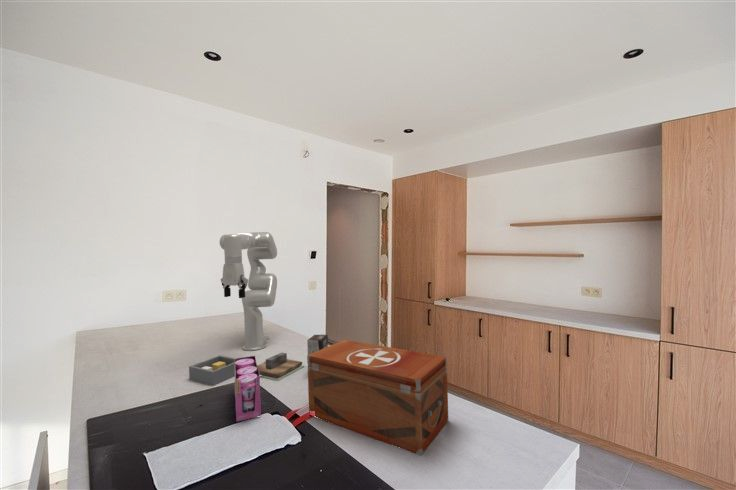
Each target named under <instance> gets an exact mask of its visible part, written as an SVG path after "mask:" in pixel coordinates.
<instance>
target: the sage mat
mask: <svg viewBox="0 0 736 490" xmlns="http://www.w3.org/2000/svg"><path fill="white" fill-rule="evenodd" d="M304 367H305V365H304V364H302V365H300V366H298V367H297V368H295V369H293V370H291V371H289V372H287V373H285V374H283V375H281V376H279V377H273V376H269V375H264V374H261V375H259V376H260V378H263V379H267V380H273V381H277V382H279V381H281V380H283V379H285V378H286V377H288V376H290V375H291V374H294V373H296V372H298V371H299V370H302V369H303V368H304Z"/></svg>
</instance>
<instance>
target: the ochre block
mask: <svg viewBox="0 0 736 490" xmlns="http://www.w3.org/2000/svg"><path fill="white" fill-rule="evenodd" d="M224 366H226V363H225V362H220V361H219V362H217V363H214V364H212V371H214V370H217V369H219V368H222V367H224Z"/></svg>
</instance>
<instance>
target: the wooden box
mask: <svg viewBox="0 0 736 490" xmlns="http://www.w3.org/2000/svg"><path fill="white" fill-rule="evenodd" d="M306 359H307V361H306V362H307V386H308V387H307V389H308V390H307V392H308V393H307V394H308V413H309V412H310V411H315V416H316V417H318V418H320V419H322V420H321V421H323V420H324V421H323V422H326V423H328V422H329V423H328V424H332V425H335V426H337V427H339V428H343V429H344V430H345V429H346V430H348V431H351V432H354V433H357V434H359V435H362V436H364V437H367V438H371V439H374V440H376V441H379V442H381V443H384V444H386V445H387V444H388V445H390V446H392V445H393V446H392V447H395V446H397V447H396V448H398V447H400V448H399V449H401V448H402V449H401V450H404V449H405V450H404V451H406V450H407V451H406V452H409V451H410V452H409V453H412V454H415V455H418V456H422V455H423V454H424V453H425V451H426V450H427V449H428V448H429V446H430V445H431V443H433V441H434V440H435V439H436V437H437V436H438V435H439V434H440V432H441V431H442V430H443V428H444V427H445V426H446V425H447V424H448V422H449V396H448V395H449V394H448V393H449V392H448V390H449V389H448V360H447V356H442V355H436V354H431V353H426V352H425V353H424V352H419V351H415V350H414V351H413V350H407V349H401V348H395V347H391V346H385V345H379V344H378V345H377V344H374V343H366V342H361V341H355V340H349V339H343V340H340V341H338V342H336V343H334V344H331V345H328V347H326V348H324V349H321V350H319V351H316V352H314V353H312V354H309V355H308V354H307V358H306ZM320 419H319V420H320Z"/></svg>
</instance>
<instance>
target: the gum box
mask: <svg viewBox="0 0 736 490" xmlns="http://www.w3.org/2000/svg"><path fill="white" fill-rule="evenodd" d="M257 365H258V363H257V359H256V355H252V356H244V357H237V358H236V359H235V360H234V376H235V377H234V399H235V420H236V422H241V421H247V420H251V419H250V418H252V419H254V418H253V417H257V416H260V415H261V416H262V406H261V405H262V404H261V402H262V401H261V380H260V379H261V377H260V376H261V375H260V374H259V370H258V367H257ZM257 418H258V417H257ZM246 419H247V420H246Z"/></svg>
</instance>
